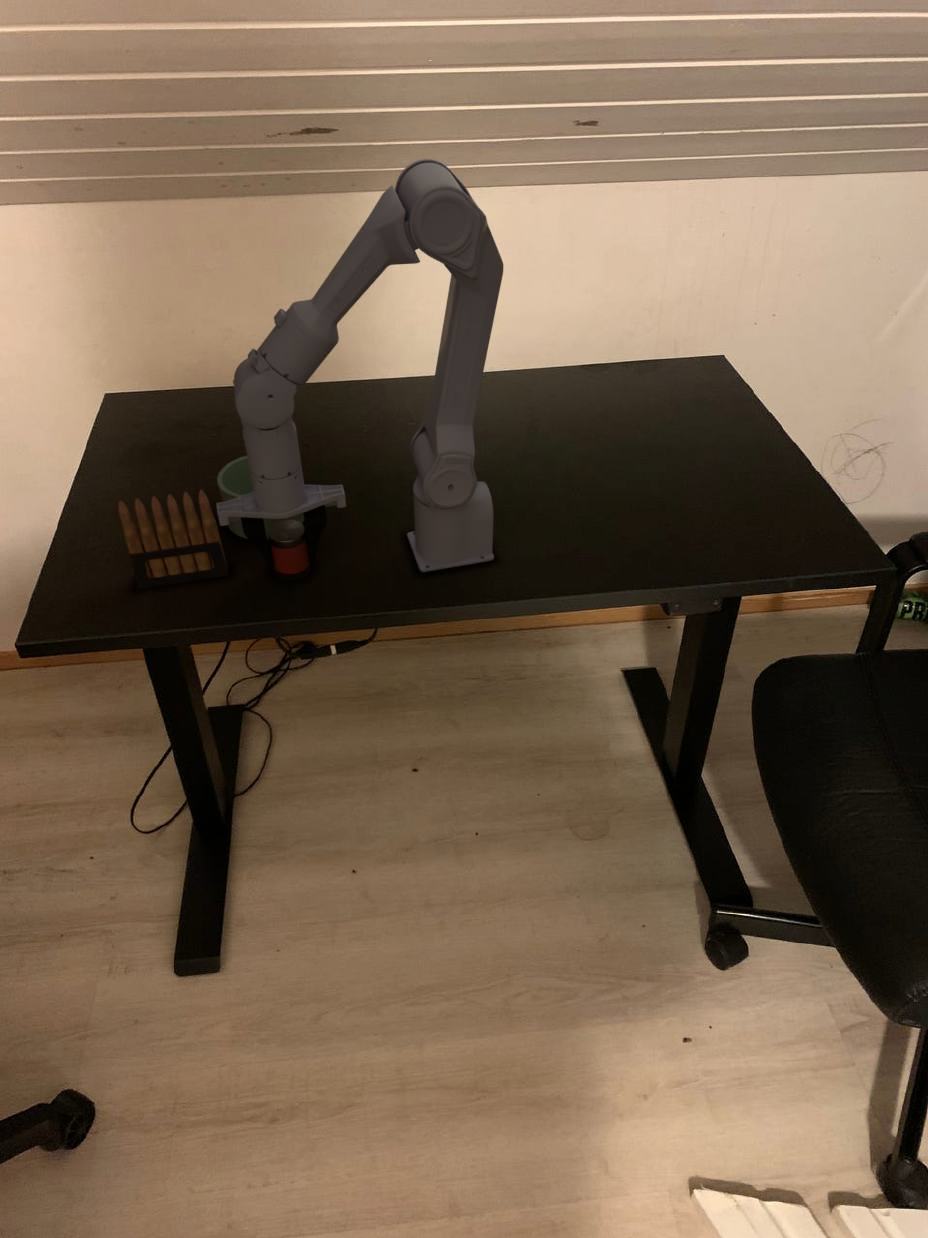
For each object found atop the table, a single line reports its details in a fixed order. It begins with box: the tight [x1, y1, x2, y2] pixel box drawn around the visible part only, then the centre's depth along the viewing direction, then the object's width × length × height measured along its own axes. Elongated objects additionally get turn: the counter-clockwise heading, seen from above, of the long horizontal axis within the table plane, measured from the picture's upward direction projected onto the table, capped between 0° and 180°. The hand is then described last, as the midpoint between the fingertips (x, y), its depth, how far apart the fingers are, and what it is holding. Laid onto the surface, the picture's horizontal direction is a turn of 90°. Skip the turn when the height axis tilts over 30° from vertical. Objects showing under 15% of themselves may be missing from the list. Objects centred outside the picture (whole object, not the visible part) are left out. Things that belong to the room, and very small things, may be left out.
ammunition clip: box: [118, 489, 230, 590], centre depth 101 cm, size 11×2×12 cm, turn 104°
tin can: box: [268, 520, 312, 582], centre depth 105 cm, size 4×4×6 cm
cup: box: [216, 455, 305, 541], centre depth 113 cm, size 10×10×6 cm
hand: (291, 560), depth 106 cm, fingers closed on tin can, 4 cm apart
